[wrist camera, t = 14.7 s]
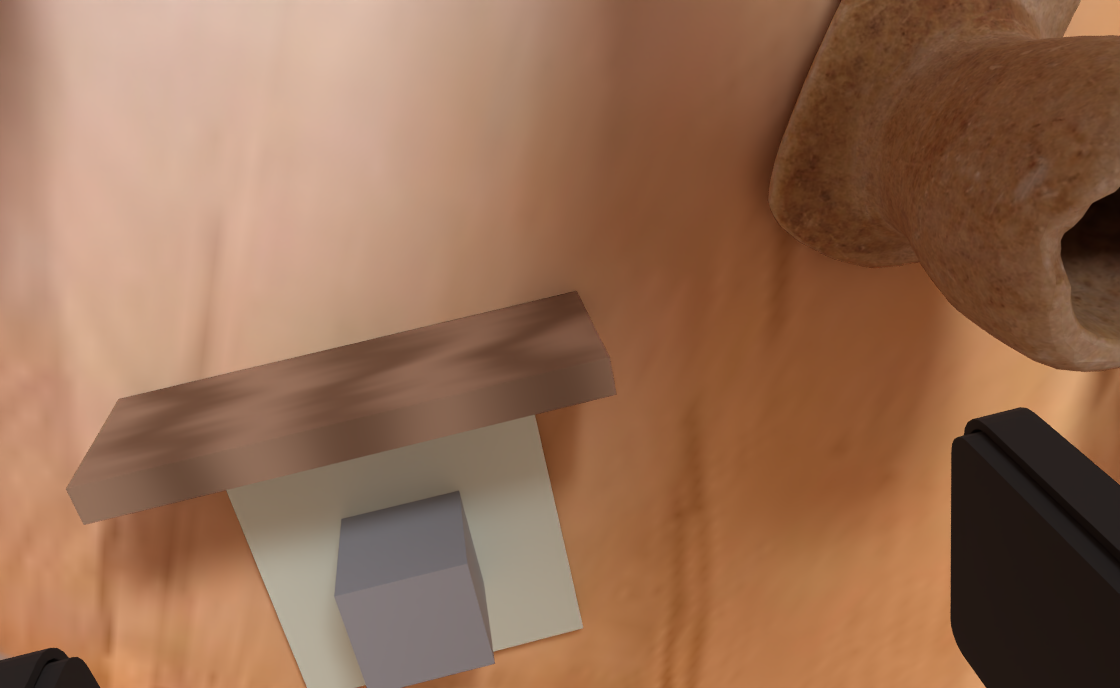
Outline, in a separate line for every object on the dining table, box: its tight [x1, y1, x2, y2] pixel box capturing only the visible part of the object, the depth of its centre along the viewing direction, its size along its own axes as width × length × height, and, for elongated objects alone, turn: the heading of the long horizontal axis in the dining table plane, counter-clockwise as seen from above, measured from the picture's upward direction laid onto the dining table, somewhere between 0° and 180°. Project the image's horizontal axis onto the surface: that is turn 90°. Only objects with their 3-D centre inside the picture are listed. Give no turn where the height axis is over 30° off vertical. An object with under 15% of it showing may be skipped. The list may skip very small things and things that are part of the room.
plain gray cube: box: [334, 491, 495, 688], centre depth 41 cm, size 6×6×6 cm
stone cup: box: [768, 0, 1120, 372], centre depth 33 cm, size 15×12×15 cm
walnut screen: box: [66, 291, 617, 525], centre depth 37 cm, size 20×2×7 cm, turn 101°
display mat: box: [226, 415, 583, 688], centre depth 44 cm, size 14×14×1 cm
